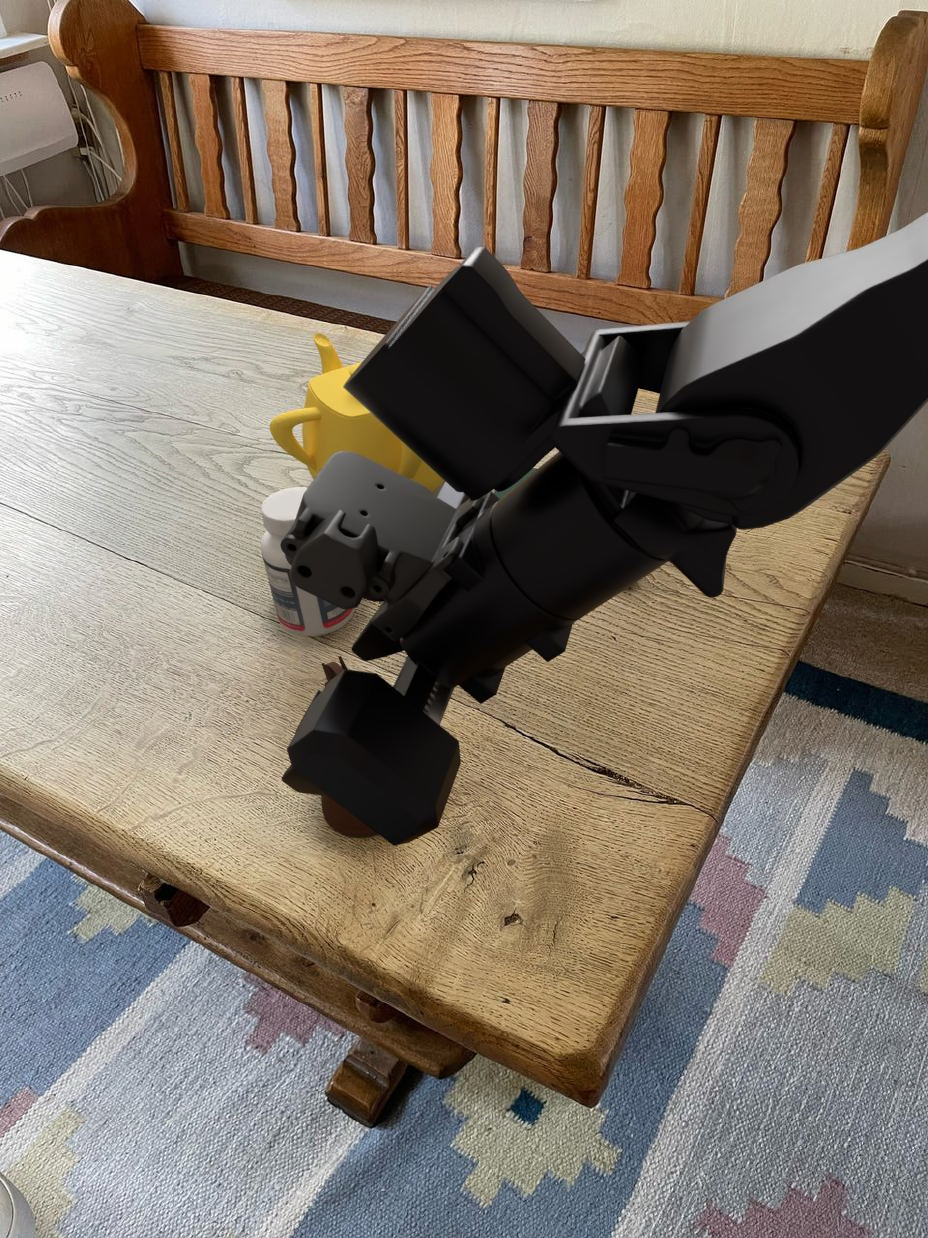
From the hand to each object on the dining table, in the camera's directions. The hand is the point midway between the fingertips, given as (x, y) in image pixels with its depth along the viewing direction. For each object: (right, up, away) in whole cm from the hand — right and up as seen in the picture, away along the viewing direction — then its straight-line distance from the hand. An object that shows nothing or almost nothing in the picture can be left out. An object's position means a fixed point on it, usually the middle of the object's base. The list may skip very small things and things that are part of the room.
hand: (326, 714), depth 48 cm
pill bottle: (-3, +5, +18) cm, 19 cm away
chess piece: (+2, -6, +4) cm, 7 cm away
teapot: (0, +16, +31) cm, 34 cm away
